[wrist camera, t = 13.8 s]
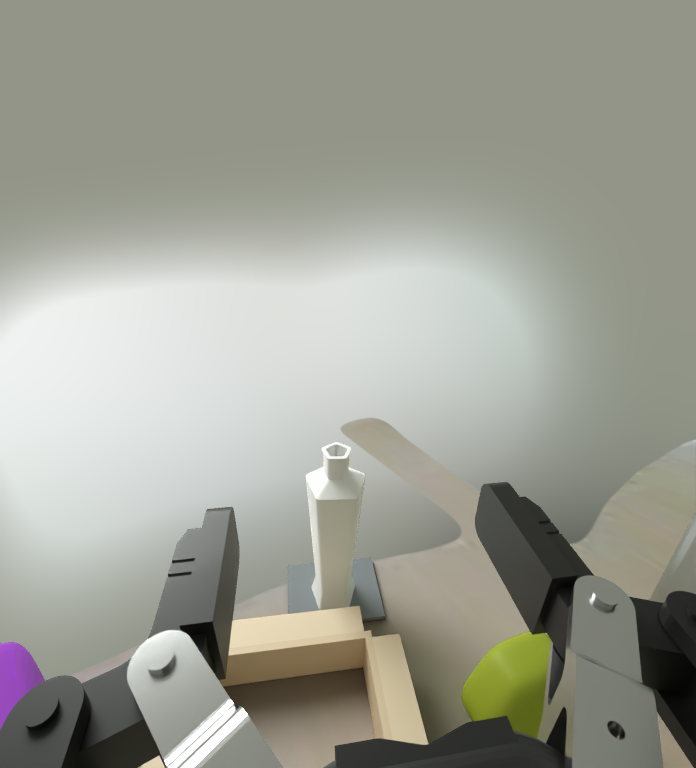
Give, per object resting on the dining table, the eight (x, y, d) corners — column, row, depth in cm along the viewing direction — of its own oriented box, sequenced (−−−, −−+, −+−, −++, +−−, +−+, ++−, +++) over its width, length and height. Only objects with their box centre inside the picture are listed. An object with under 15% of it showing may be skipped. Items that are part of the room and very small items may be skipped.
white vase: (357, 568, 38) (364, 432, 31) (361, 612, 34) (371, 467, 27) (308, 569, 37) (305, 433, 31) (306, 614, 33) (303, 468, 27)
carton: (387, 630, 33) (390, 602, 31) (468, 969, 18) (481, 947, 17) (182, 656, 30) (175, 627, 29) (94, 1066, 16) (71, 1050, 15)
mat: (370, 560, 39) (371, 557, 39) (384, 619, 34) (385, 615, 33) (287, 568, 38) (287, 565, 38) (288, 630, 32) (288, 627, 32)
